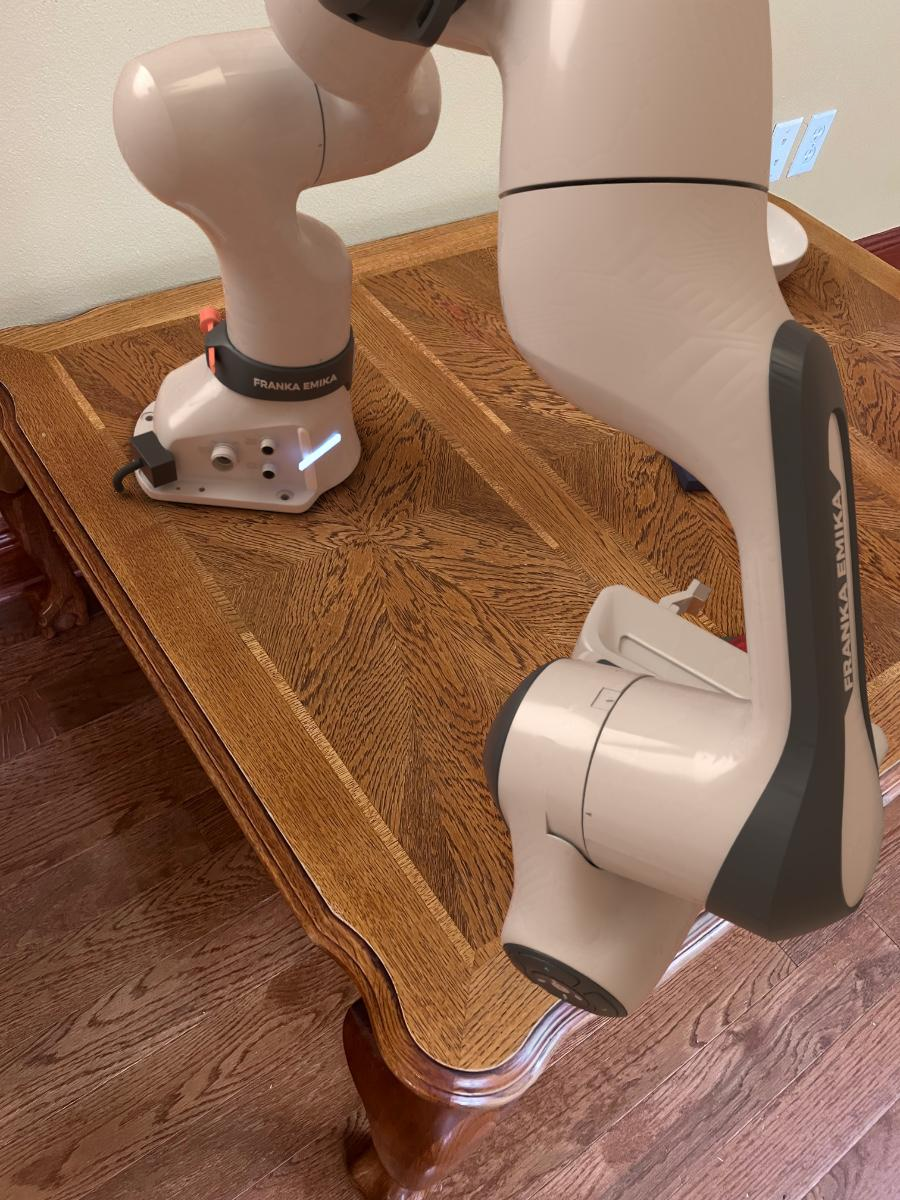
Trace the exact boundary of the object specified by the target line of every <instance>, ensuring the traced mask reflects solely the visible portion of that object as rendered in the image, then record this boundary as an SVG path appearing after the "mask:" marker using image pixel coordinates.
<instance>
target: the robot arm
mask: <svg viewBox="0 0 900 1200" xmlns="http://www.w3.org/2000/svg"><path fill="white" fill-rule="evenodd" d="M263 3H264V8H265V12H266V16H267V19H268V21H269V25H268V26H263V27H255V28H248V29H241V30H240V29H239V30H231V31H224V32H223V31H222V32H216V33H208V34H200V35H191V36H186V37H184V38H181V39H178V40H175V41H173V42H170V43H167V44H164V45H162V46H160V47H156V48H154V49H152V50H149V51H147V52H145V53H143V54H140V55H137V56H136V57H132V58H131V59H129V60H128V61H126V63H125V64H124V66H123V67H122V70H121V71H120V73H119V76H118V78H117V81H116V84H115V88H114V92H113V98H112V108H111V109H112V110H111V112H112V113H111V115H112V127H113V133H114V136H115V137H114V138H115V141H116V144H117V147H118V150H119V152H120V154H121V157H122V159H123V161H124V163H125V164H126V166H127V168H128V170H129V172H130V173H131V174H132V175H133V177H134V178H135V180H136V181H137V182H138V183H139V184H140V185H141V186H142V187H143V188H144V189H145V191H146V192H148V193H149V194H150V195H151V196H153V197H154V198H155V199H156V200H158V201H159V202H160V203H162V204H164V205H166V206H168V207H170V208H172V209H174V210H177V211H178V212H179V213H181V214H183V215H184V216H185V217H187V218H188V219H190V220H191V221H192V222H193V223H195V225H197V227H198V228H199V229H200V230H201V231H202V232H203V233H204V235H205V236H206V237H207V239H208V241H209V242H210V244H211V246H212V248H213V250H214V252H215V255H216V258H217V262H218V267H219V273H220V278H221V285H222V292H223V299H224V309H225V318H224V319H223V320H222V318H223V317H222V316H223V315H222V314H221V311H219V309H218V308H217V307H213V306H206V307H204V308H202V309H201V311H199V318H198V319H199V321H200V322H199V330H200V331H201V333H203V335H204V351H205V352H203V353H202V354H200V355H198V356H197V357H195V358H193V359H191V360H190V361H188V362H186V363H184V364H183V365H181V366H179V367H177V368H175V369H173V370H171V371H170V372H169V373H168V374H167V375H166V376H165V377H164V379H163V380H162V382H161V384H160V386H159V389H158V392H157V395H156V399H155V400H153V401H151V403H149V404H148V406H146V407H145V408H144V410H143V411H142V412H141V414H140V416H139V418H138V419H137V422H136V424H135V427H134V431H133V436H131V437H129V438H128V441H129V442H128V443H129V447H130V452H131V453H130V454H131V458H132V461H131V462H129V463H127V464H126V465H124V466H122V467H120V468H119V469H118V470H116V472H115V473H114V475H113V476H112V485H113V488H114V492H116V493H123V492H124V490H125V486H124V483H123V480H124V479H125V478H126V477H127V476H129V475H131V474H132V473H134V474H135V478H136V480H137V483H138V484H139V486H140V488H141V489H142V491H143V492H144V493H145V494H146V495H147V496H148V497H149V498H150V499H153V500H157V501H166V502H176V503H187V504H197V505H207V506H217V507H228V508H239V509H248V510H249V509H250V510H260V511H269V512H278V513H279V512H280V513H290V514H301V513H304V512H306V511H308V510H309V509H310V508H311V507H312V506H313V505H314V503H315V502H316V501H317V500H318V499H319V497H320V496H321V495H322V494H324V493H325V492H326V491H329V490H330V489H332V488H334V487H336V486H337V485H339V484H342V482H344V481H345V480H346V479H347V478H348V477H349V476H350V475H351V474H352V473H353V472H354V471H355V469H356V468H357V466H358V464H359V461H360V458H361V452H362V449H361V448H362V446H361V441H360V438H359V435H358V433H357V429H356V428H357V427H356V425H355V420H354V415H353V408H352V400H351V390H352V385H353V378H354V377H355V365H356V340H355V335H354V329H353V326H352V324H351V322H352V319H351V318H352V297H353V296H352V295H353V275H354V268H353V267H354V266H353V261H352V258H351V254H350V251H349V250H348V248H347V246H346V244H345V242H344V241H343V239H342V238H341V236H340V235H339V234H338V233H337V232H336V231H335V230H334V229H333V228H332V227H330V226H329V225H327V224H326V223H325V222H323V221H321V220H319V219H317V218H315V217H313V216H311V215H309V214H307V213H304V212H301V211H298V210H297V203H298V199H299V197H300V195H301V193H302V192H303V191H306V190H309V189H312V188H313V189H314V188H316V187H321V186H326V185H330V184H334V183H335V184H336V183H339V182H344V181H349V180H353V179H358V178H363V177H367V176H368V177H369V176H371V175H376V174H378V173H381V172H383V171H385V170H388V169H390V168H391V167H394V166H396V165H398V164H400V163H402V162H404V161H406V160H408V159H410V158H412V157H414V156H415V155H418V154H419V153H421V152H423V151H424V150H425V149H427V147H428V146H429V145H430V143H431V142H432V141H433V138H434V136H435V134H436V131H437V129H438V126H439V121H440V117H441V112H442V106H443V105H442V103H443V99H442V98H443V95H442V82H441V78H440V73H439V69H438V65H437V63H436V61H435V58H434V56H433V53H432V52H431V50H432V49H433V47H434V46H435V45H437V46H440V47H444V48H446V49H447V48H448V49H452V50H457V51H461V52H464V53H469V54H474V55H477V56H484V57H489V58H491V59H492V60H493V63H494V64H495V66H496V67H497V70H498V72H499V76H500V80H501V91H502V93H501V95H502V116H501V118H502V119H501V129H500V145H499V165H498V166H499V167H498V168H499V170H498V193H497V194H498V198H499V199H498V202H497V248H496V249H497V252H496V253H497V255H496V257H497V279H498V288H499V290H498V291H499V296H500V297H499V298H500V304H501V308H502V313H503V318H504V322H505V326H506V329H507V332H508V334H509V336H510V338H511V340H512V342H513V343H514V345H515V347H516V348H517V350H518V352H519V353H520V355H521V356H522V358H523V359H524V360H525V362H526V363H527V365H528V366H529V367H530V368H531V370H533V372H534V373H535V374H536V375H537V376H538V377H539V379H541V380H542V381H543V382H544V383H545V384H546V385H547V387H549V389H551V390H552V391H554V393H556V394H557V395H559V396H560V397H561V398H562V399H564V400H565V401H566V402H568V403H569V404H570V405H572V406H573V407H574V408H576V409H577V410H580V411H581V412H583V413H585V414H586V415H588V416H590V417H592V418H593V419H596V420H597V421H599V422H601V423H603V424H604V425H605V424H606V425H607V426H608V427H609V426H610V427H611V428H613V429H615V430H617V431H619V432H621V433H623V434H625V435H628V436H629V437H631V438H633V439H635V440H637V441H639V442H641V443H643V444H645V445H647V446H649V447H651V448H652V449H654V450H655V451H657V452H659V453H660V454H662V455H664V456H665V457H667V458H668V459H669V458H670V459H672V460H673V461H675V462H676V463H677V464H679V465H680V466H681V467H683V468H684V469H685V470H687V471H688V472H689V473H691V474H692V475H693V476H694V477H695V478H697V479H698V480H699V481H700V482H701V483H702V484H703V485H704V486H705V487H706V488H707V489H708V490H707V491H709V492H710V493H711V495H712V496H713V497H714V498H715V499H716V501H717V502H718V504H719V506H720V507H721V508H722V509H723V511H724V513H725V514H726V517H727V519H728V520H729V523H730V525H731V528H732V530H733V533H734V536H735V541H736V545H737V550H738V559H739V568H740V579H741V581H740V582H741V591H742V592H741V593H742V605H743V616H744V629H745V635H746V641H747V652H748V654H747V653H746V652H744V651H742V650H740V649H738V648H736V647H735V646H733V645H731V644H729V643H727V642H726V641H724V640H722V639H720V638H721V637H718V636H716V635H714V634H713V633H711V632H710V631H708V630H706V629H704V628H702V627H701V626H698V625H696V624H695V623H693V622H691V621H689V620H687V619H685V618H684V617H682V616H680V615H683V614H685V613H686V614H688V615H691V616H693V617H695V618H697V617H698V615H700V612H701V611H702V609H703V607H704V606H705V605H706V602H707V601H708V600H709V597H710V595H711V593H713V592H712V591H713V590H714V588H712V587H711V586H709V585H707V584H705V583H704V582H702V581H700V580H698V579H696V578H693V579H692V581H691V583H690V584H689V586H688V587H687V589H686V590H682V591H679V592H675V593H673V594H669V595H666V596H662V597H661V598H660V600H659V601H658V603H656V602H655V601H653V600H651V599H649V598H648V597H646V596H644V595H642V594H641V593H639V592H637V591H635V590H633V589H632V588H630V587H628V586H627V585H624V584H614V585H610V586H605V587H603V589H602V590H601V591H600V592H599V594H598V596H597V597H596V599H595V600H594V602H593V604H592V605H591V607H590V610H589V611H588V614H587V616H586V618H585V620H584V622H583V625H582V627H581V630H580V632H579V633H578V634H579V635H578V636H577V638H576V639H577V640H576V642H575V645H574V646H573V650H572V652H571V655H570V657H566V656H561V657H557V658H555V659H552V660H550V661H547V662H546V663H544V664H542V665H540V666H538V667H537V668H536V669H535V670H533V671H532V672H531V673H529V674H528V675H527V676H526V677H525V678H523V680H522V681H520V683H519V684H518V685H517V686H516V687H515V688H514V690H512V692H511V694H509V695H508V697H507V699H506V700H505V701H504V702H503V703H502V705H501V707H500V708H499V710H498V712H497V713H496V715H495V717H494V719H493V720H492V723H491V725H490V727H489V729H488V732H487V735H486V737H485V741H484V745H483V750H482V768H483V772H484V773H483V774H484V777H485V780H486V784H487V788H488V790H489V793H490V796H491V799H492V801H493V804H494V805H495V808H496V810H497V812H498V814H499V816H500V818H501V820H502V822H503V824H504V825H505V828H506V830H507V832H508V834H509V835H510V839H511V851H512V861H513V889H512V894H511V897H510V898H511V899H510V902H509V905H508V909H507V911H506V914H505V919H504V921H503V923H502V924H503V925H502V928H501V932H500V943H501V947H502V950H503V952H504V954H505V955H506V956H507V958H508V960H509V962H510V964H512V966H513V967H514V968H515V969H516V970H517V971H518V972H519V973H520V974H522V975H523V977H525V978H526V979H527V980H529V982H531V983H532V984H533V985H537V986H538V987H539V988H541V989H543V990H544V991H545V992H546V993H547V994H550V995H551V996H553V997H555V998H556V999H559V1000H561V1001H563V1002H565V1003H567V1004H569V1005H571V1006H573V1007H575V1008H578V1009H580V1010H582V1011H585V1012H586V1013H590V1014H592V1015H595V1016H599V1017H606V1018H611V1019H612V1018H613V1019H614V1018H628V1017H630V1016H631V1015H633V1014H634V1013H635V1012H636V1011H637V1010H638V1009H639V1008H640V1007H641V1006H642V1005H643V1004H644V1002H645V1001H646V1000H647V999H648V998H649V996H650V995H651V994H652V992H653V991H654V990H655V988H656V987H657V985H658V984H659V983H660V982H661V980H662V979H663V977H664V975H665V974H666V972H667V970H668V969H669V968H670V966H671V965H672V964H673V961H674V959H675V958H676V956H677V954H678V953H679V951H680V949H681V948H682V947H683V945H684V942H685V941H686V939H687V937H688V935H689V934H690V931H691V930H692V928H693V926H694V924H695V922H696V920H697V918H698V916H699V914H700V912H701V910H702V908H703V907H704V911H705V912H707V913H709V914H711V915H714V916H715V917H718V918H720V919H722V920H724V921H726V922H728V923H731V924H733V925H734V926H737V927H739V928H741V929H743V930H745V931H747V932H750V933H752V934H754V935H756V936H757V937H760V938H762V939H764V940H765V941H768V942H771V943H777V942H783V941H787V940H791V939H794V938H798V937H801V936H805V935H807V934H811V933H815V932H816V931H819V930H822V929H825V928H826V927H830V926H831V925H833V924H836V923H837V922H840V921H841V920H843V919H845V918H847V917H849V916H851V915H852V914H854V913H855V912H856V911H858V909H859V908H860V907H861V904H862V902H863V900H864V898H865V896H866V893H867V890H868V888H869V886H870V885H871V883H872V880H873V878H874V875H875V872H876V871H877V867H878V864H879V860H880V857H881V853H882V847H883V842H884V830H885V809H884V807H885V806H884V800H883V793H882V792H883V791H882V787H881V783H880V771H879V770H880V768H881V766H882V765H883V762H884V761H885V758H886V756H887V754H888V752H889V749H890V744H889V741H888V738H887V736H886V734H885V732H884V730H883V728H882V727H881V726H879V725H877V724H876V723H875V722H873V721H872V719H871V714H870V705H869V697H868V684H867V672H866V671H867V669H866V655H865V639H864V638H865V637H864V622H863V619H864V618H863V605H862V604H863V603H862V589H861V587H862V586H861V571H860V570H861V569H860V557H859V555H860V554H859V539H858V538H859V537H858V525H857V509H856V498H855V486H854V473H853V459H852V450H851V440H850V432H849V430H850V429H849V423H848V415H847V409H846V402H845V396H844V389H843V385H842V381H841V378H840V374H839V370H838V366H837V363H836V360H835V357H834V355H833V351H832V349H831V347H830V344H829V342H828V341H827V339H825V337H824V336H823V335H820V334H819V333H818V332H816V331H814V330H812V329H811V328H809V327H807V326H805V325H804V324H802V323H800V322H799V321H797V320H796V319H795V317H794V316H793V313H791V311H790V308H789V307H788V305H787V302H786V300H785V298H784V296H783V294H782V291H781V288H780V285H779V282H778V283H777V279H776V276H775V273H774V269H773V265H772V261H771V256H770V250H769V242H768V233H767V204H768V202H769V194H768V192H769V189H770V177H771V176H770V175H771V161H772V150H773V149H772V148H773V147H772V146H773V145H772V144H773V114H774V111H773V109H774V108H773V107H774V87H773V86H774V83H773V46H772V29H771V10H770V0H263ZM670 459H669V460H670Z"/></svg>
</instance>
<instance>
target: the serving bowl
mask: <svg viewBox="0 0 900 1200" xmlns="http://www.w3.org/2000/svg"><path fill="white" fill-rule="evenodd" d="M767 233H768V242H769V250H770V256H771V261H772V265H773V269H774V273H775V276H776V279H777V283H778V284H779V283H780V282H781V281H783V280H785V279H786V278H787V277H789V275H791V274H792V272H793V271H794V270H796V268H797V267H798V266H799V264H800V263H801V261H802V260H803V258H804V257H805V255H806V253H807V252H808V248H809V237H808V234H807V232H806V231H805V228H804V227H803V226H802V224H801V223H800V222H799V221H798V220H797V219H796V217H794V216H793V215H792V214H790V212H787V211H786V210H785V209H783V208H781V207H779V206H778V205H776V204H774V203H772V202H770V201H768V204H767Z"/></svg>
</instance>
